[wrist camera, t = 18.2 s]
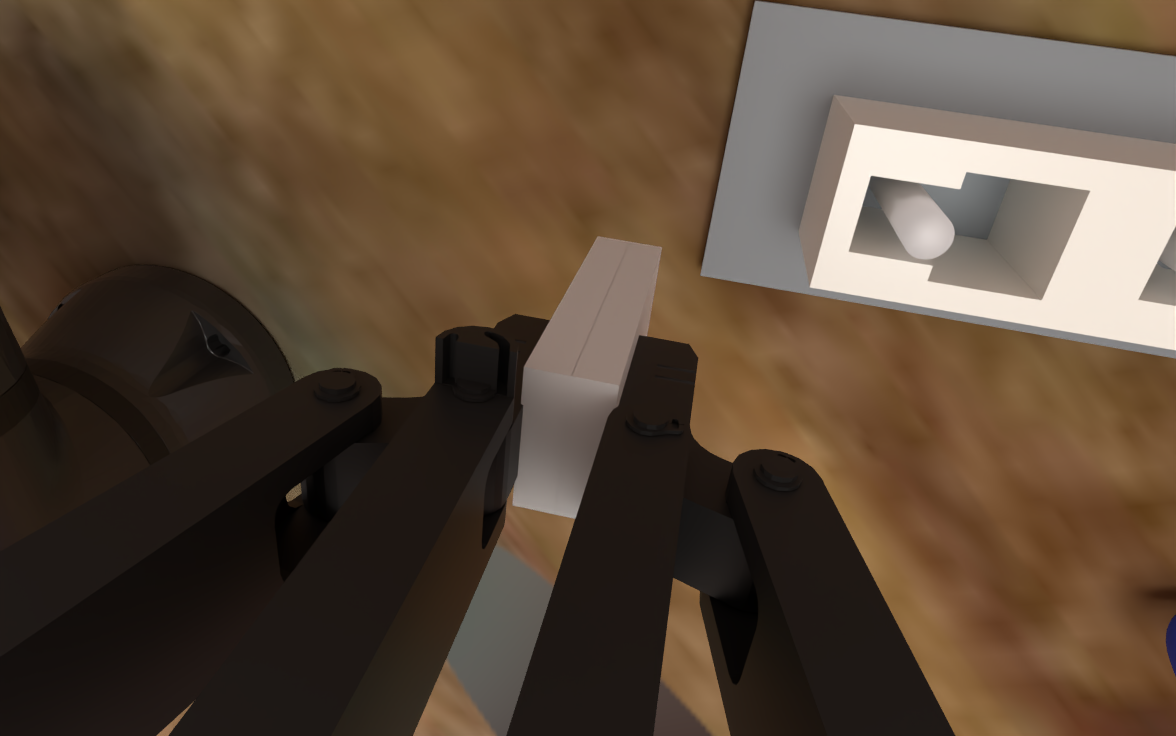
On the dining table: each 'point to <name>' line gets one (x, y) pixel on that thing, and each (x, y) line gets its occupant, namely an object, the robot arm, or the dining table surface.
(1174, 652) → the mug
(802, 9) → the grey piece
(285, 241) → the dining table surface
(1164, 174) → the white slotted block
